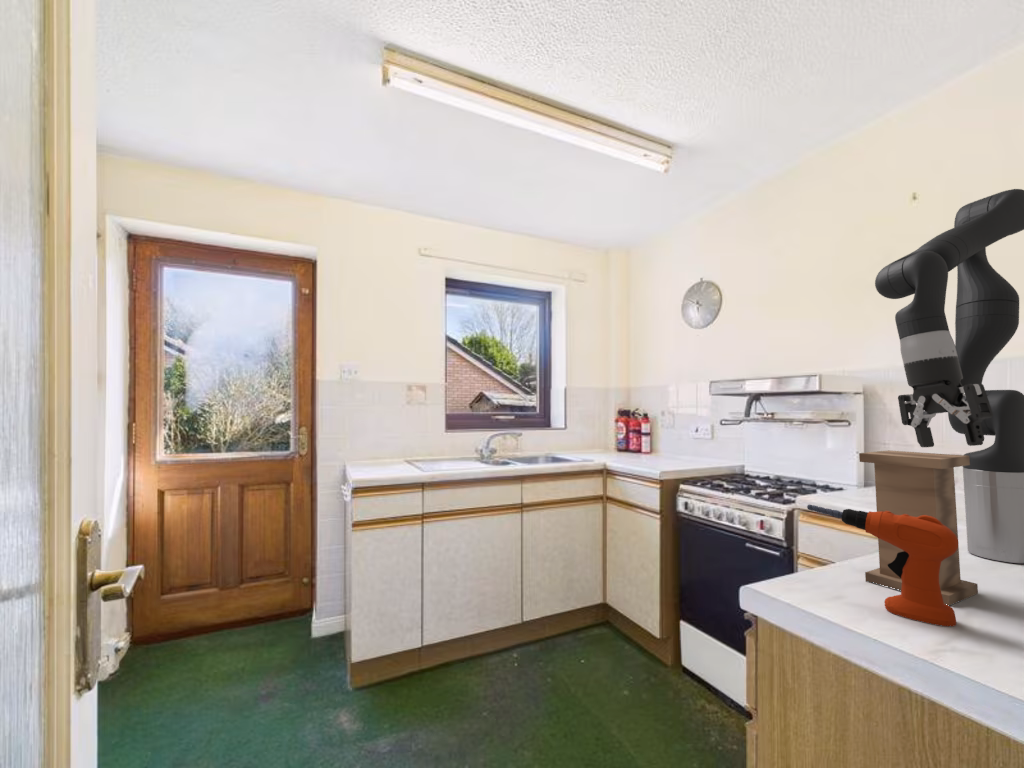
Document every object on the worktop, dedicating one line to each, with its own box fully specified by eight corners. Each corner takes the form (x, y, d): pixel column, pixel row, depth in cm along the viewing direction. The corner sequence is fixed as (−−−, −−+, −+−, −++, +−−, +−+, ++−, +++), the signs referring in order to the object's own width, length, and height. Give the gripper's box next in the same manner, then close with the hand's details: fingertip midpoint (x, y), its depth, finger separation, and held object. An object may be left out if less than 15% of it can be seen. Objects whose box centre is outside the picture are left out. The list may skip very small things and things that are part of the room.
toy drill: (804, 573, 78) (813, 487, 77) (956, 625, 64) (969, 521, 63) (795, 580, 74) (804, 491, 74) (953, 637, 60) (966, 527, 60)
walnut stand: (895, 571, 82) (888, 450, 83) (978, 593, 72) (969, 455, 73) (865, 581, 78) (859, 453, 79) (949, 606, 68) (940, 459, 69)
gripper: (990, 348, 77) (1014, 443, 74) (912, 365, 91) (931, 446, 88) (949, 351, 76) (973, 446, 74) (877, 368, 91) (895, 449, 88)
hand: (950, 446), depth 81 cm, fingers open, 8 cm apart
